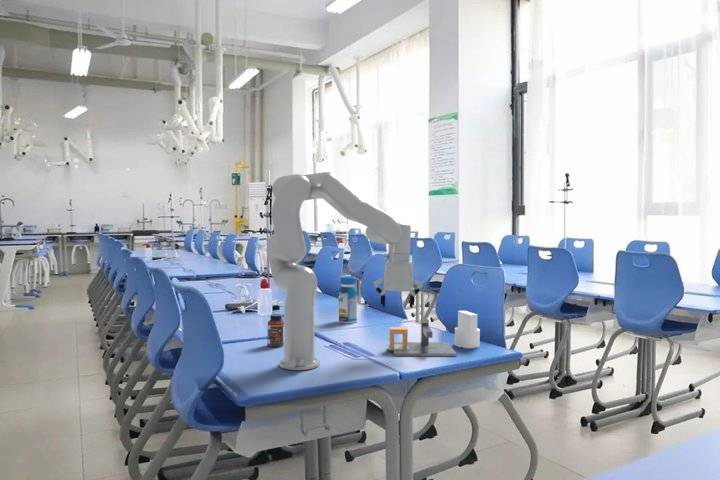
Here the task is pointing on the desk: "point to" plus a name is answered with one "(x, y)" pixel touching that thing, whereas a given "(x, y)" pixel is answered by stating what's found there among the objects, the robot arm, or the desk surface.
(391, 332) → the orange staple
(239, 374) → the desk surface
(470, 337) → the cylinder with rectangular tab
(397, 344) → the stand
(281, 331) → the supplement bottle
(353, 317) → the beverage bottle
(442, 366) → the desk surface
